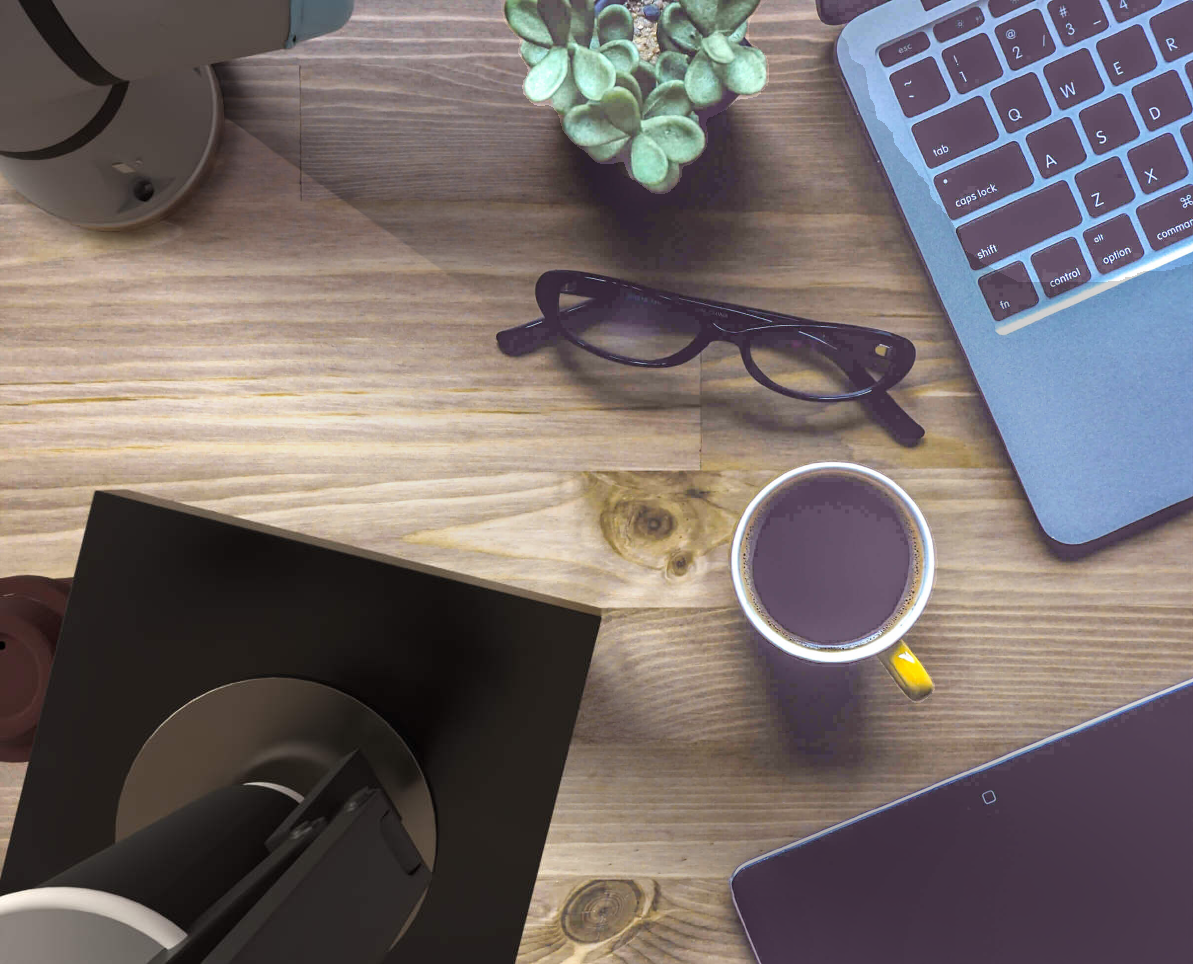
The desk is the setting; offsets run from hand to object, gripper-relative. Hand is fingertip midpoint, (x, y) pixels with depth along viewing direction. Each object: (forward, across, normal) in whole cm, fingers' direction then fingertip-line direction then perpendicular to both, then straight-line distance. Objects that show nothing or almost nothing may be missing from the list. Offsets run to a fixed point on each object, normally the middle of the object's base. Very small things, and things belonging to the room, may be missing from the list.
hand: (257, 857), depth 29 cm
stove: (+4, 0, 0) cm, 4 cm away
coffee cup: (+32, -16, +12) cm, 38 cm away
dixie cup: (0, 0, 0) cm, 0 cm away
